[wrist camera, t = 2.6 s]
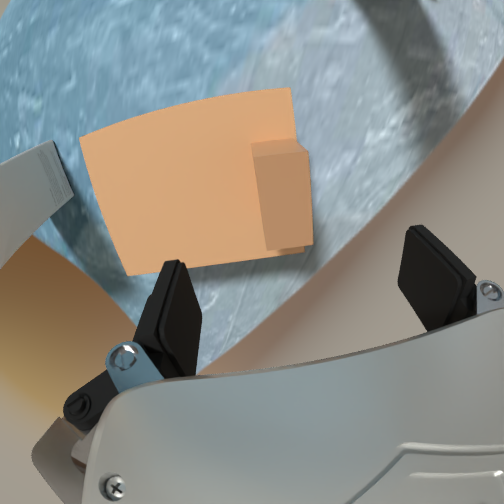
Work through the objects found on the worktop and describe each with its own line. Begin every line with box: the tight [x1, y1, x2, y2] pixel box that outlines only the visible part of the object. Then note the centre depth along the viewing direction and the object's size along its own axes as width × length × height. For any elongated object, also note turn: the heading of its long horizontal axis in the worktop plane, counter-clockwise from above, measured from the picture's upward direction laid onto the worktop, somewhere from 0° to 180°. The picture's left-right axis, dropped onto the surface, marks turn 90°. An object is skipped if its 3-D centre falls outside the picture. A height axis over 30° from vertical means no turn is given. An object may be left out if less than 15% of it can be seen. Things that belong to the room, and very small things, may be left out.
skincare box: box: [0, 140, 74, 269], centre depth 19 cm, size 8×7×16 cm
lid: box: [79, 88, 313, 276], centre depth 19 cm, size 17×14×7 cm
